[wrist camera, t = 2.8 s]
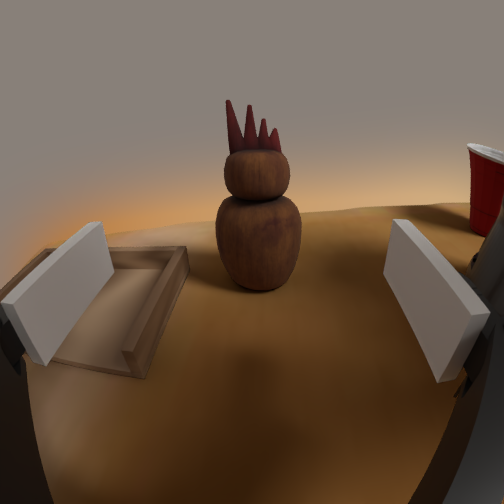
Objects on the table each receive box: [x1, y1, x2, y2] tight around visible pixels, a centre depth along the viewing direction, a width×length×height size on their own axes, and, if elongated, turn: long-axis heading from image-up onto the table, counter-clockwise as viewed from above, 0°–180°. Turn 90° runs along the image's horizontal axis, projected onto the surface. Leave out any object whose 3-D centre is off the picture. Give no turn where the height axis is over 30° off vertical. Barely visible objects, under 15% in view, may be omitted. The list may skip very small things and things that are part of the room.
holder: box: [0, 246, 190, 379], centre depth 22 cm, size 18×13×2 cm
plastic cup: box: [467, 143, 504, 237], centre depth 31 cm, size 11×11×12 cm
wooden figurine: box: [215, 100, 302, 290], centre depth 23 cm, size 7×6×15 cm
